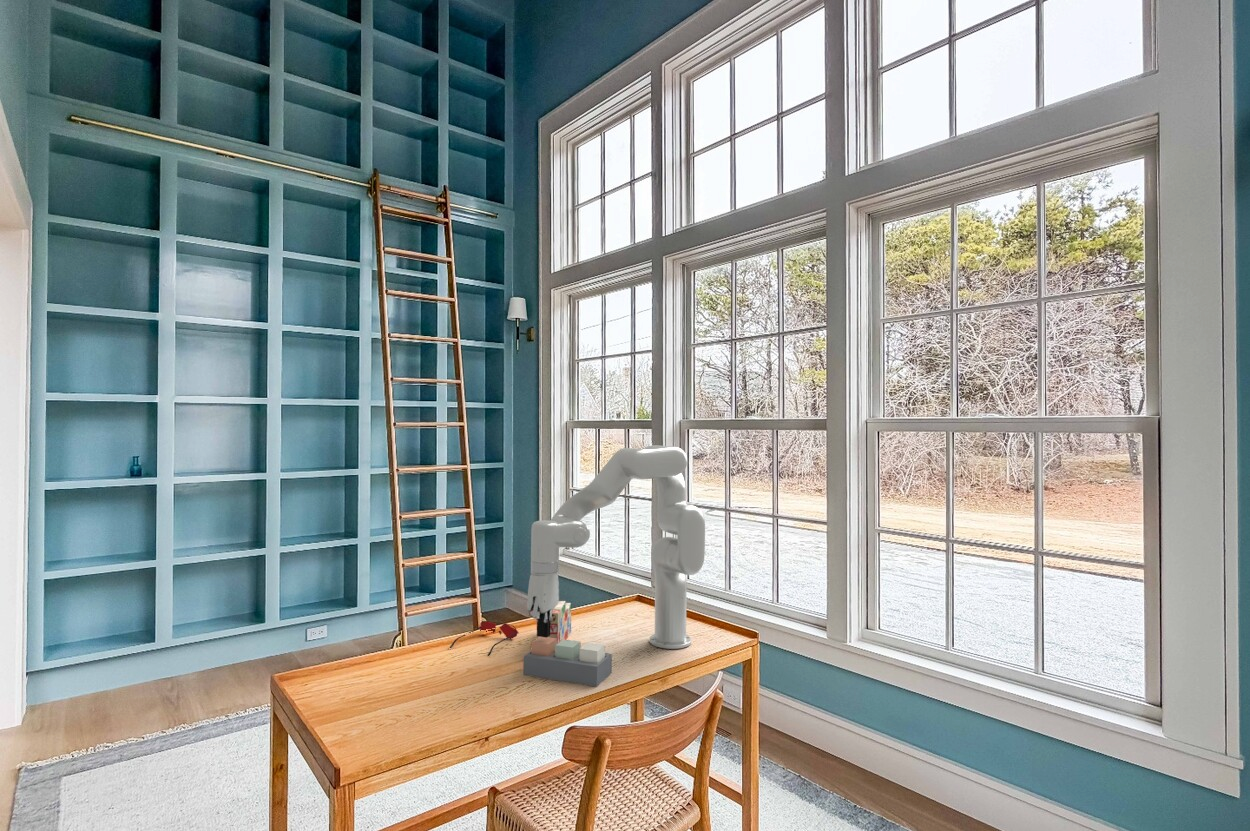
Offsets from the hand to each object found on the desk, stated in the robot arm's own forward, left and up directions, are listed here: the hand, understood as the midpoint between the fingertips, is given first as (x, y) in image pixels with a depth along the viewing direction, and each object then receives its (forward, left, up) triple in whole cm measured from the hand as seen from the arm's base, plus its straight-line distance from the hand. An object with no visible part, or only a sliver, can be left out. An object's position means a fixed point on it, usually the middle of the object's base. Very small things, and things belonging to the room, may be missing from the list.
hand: (543, 635), depth 178 cm
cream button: (0, +14, -6) cm, 15 cm away
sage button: (0, +7, -6) cm, 9 cm away
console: (0, +7, -9) cm, 12 cm away
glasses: (-12, -26, -10) cm, 30 cm away
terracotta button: (0, 0, -6) cm, 6 cm away
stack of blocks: (-21, -7, -10) cm, 24 cm away
